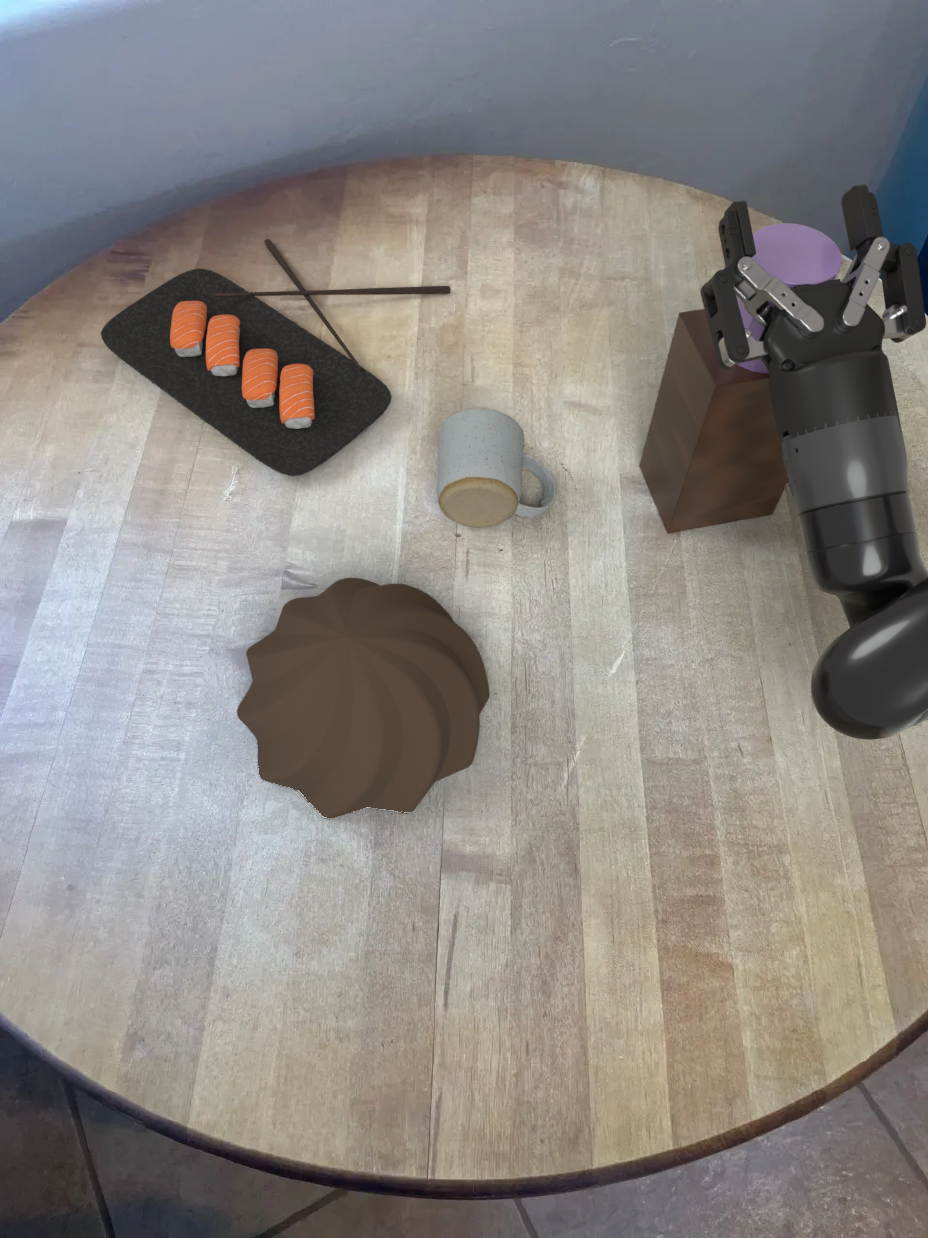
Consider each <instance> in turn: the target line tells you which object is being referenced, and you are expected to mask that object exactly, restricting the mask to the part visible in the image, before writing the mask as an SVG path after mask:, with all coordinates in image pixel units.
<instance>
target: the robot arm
mask: <svg viewBox="0 0 928 1238" xmlns="http://www.w3.org/2000/svg"><path fill="white" fill-rule="evenodd" d="M841 208H842V214H843V219H844V224H845V229H846V234H847V235H846V236H847V241H848V245H849V251H850V252H854V251H856V253H855V255H854V256H853V259H852V261H851V263H850V265H849V268H848V269H847V271H846V273H845V276H844V277H843V279H842V280H841V278H837V279H835V280H829V281H827V282H825V283H823V284H821V285H813V284H803V285H796V286H795V287H794V288H792V289H790V288H789V287H787V286H786V285H785V284H784V283H783V282H782V281H781V280H780V279H779V278H777V277H771V276H770V275H769V274H768V273H767V272H766V271H765V270H764V269H763V268H762V267H761V266H759V265H758V264H757V263H756V262H755V261H754V260H753V259H752V257H753V256H754V255H755V254H756V249H755V244H754V239H753V234H754V233H753V229H752V225H751V218H750V213H749V208H748V203H747V200H737V201H732V202H731V204H730V205H729V206H728V207H727V208H726V209H725V210H724V212H723V213H724V214H723V217H722V218H721V219H720V220H719V221H718V222H719V223H718V227H717V230H718V235H719V240H720V246H721V250H722V257H723V261H724V268H723V269H718V270H717V271H716V272H715V273H714V274H713V275H712V276H711V277H710V278H709V280H708V281H706V282H705V283H704V284H703V285H702V286H701V288H700V297H701V300H702V305H703V309H705V313H706V317H707V321H708V325H709V329H710V333H711V337H712V341H713V345H714V349H715V353H716V357H717V361H718V364H719V366H720V367H721V368H722V369H724V370H729V369H731V368H733V367H735V366H736V365H738V364H739V363H743V362H747V361H752V360H756V359H761V360H762V361H763V363H764V364H765V366H766V367H767V370H768V372H769V388H770V394H771V399H772V404H773V410H774V415H775V420H776V425H777V430H778V435H779V441H780V446H781V459H782V463H783V465H784V467H785V472H786V477H787V481H788V483H787V485H788V487H789V491H790V494H791V497H792V500H793V502H794V506H795V510H796V513H797V514H798V515H797V518H798V524H799V530H800V534H801V539H802V544H803V551H804V555H805V559H806V565H807V569H808V572H809V576H810V579H811V581H812V583H813V584H814V586H815V587H816V588H817V589H818V590H819V591H821V592H822V593H824V594H827V595H831V596H835V597H836V598H837V599H838V601H839V603H840V605H841V608H842V610H843V614H844V615H845V618H846V622H847V624H848V626H849V628H848V629H846V630H844V632H842V633H841V634H840V635H839V636H837V637H836V638H834V640H832V641H831V642H830V643H829V644H828V646H826V647H825V648H824V650H823V651H822V653H821V654H820V655H819V656H818V659H817V661H816V662H815V665H814V667H813V669H812V673H811V680H810V694H811V698H812V703H813V705H814V708H815V711H816V712H817V714H818V715H819V716H820V718H821V719H822V720H823V721H824V722H825V723H826V724H827V725H828V726H829V727H830V728H832V729H833V730H835V731H836V732H837V733H840V734H842V735H844V736H847V737H849V738H853V739H858V740H869V741H871V740H872V741H873V740H881V739H886V738H890V737H893V736H896V735H899V734H900V733H903V732H904V731H907V730H908V729H910V728H913V727H915V726H917V725H920V724H922V723H923V722H926V721H928V569H927V568H926V565H925V562H924V561H923V558H922V556H921V551H920V543H919V536H918V532H917V530H918V529H917V525H916V520H915V519H916V518H915V514H914V509H913V504H912V499H911V498H912V497H911V494H910V492H909V491H910V487H909V480H908V457H907V450H906V445H905V439H904V433H903V430H902V423H901V418H900V413H899V408H898V402H897V397H896V392H895V387H894V386H895V385H894V381H893V377H892V371H891V367H890V366H891V365H890V361H889V357H888V355H887V354H886V353H884V350H883V341H884V340H888V339H890V340H891V341H892V342H893V343H896V344H899V343H902V342H904V341H906V340H908V339H909V338H912V337H913V336H915V335H917V334H919V333H920V332H922V331H924V330H925V329H926V325H927V318H926V310H925V304H924V296H923V288H922V282H921V281H922V280H921V274H920V265H919V258H918V249H917V248H916V246H915V245H914V244H912V243H911V242H905V243H903V244H898V243H894V242H893V243H892V242H891V241H889V240H888V238H886V237H885V236H884V232H883V227H882V222H881V221H882V220H881V216H880V209H879V206H878V200H877V198H876V196H875V194H874V192H873V191H870V190H869V186H868V185H867V184H866V183H862V184H855V185H853V186H852V187H850V188H849V190H848V191H846V192H845V193H844V194H843V195H842V198H841ZM880 277H881V284H882V285H881V287H882V292H883V300H884V309H885V310H884V311H883V312H882V315H881V316H880V315H879V314H878V313H877V312H876V311H875V310H874V309H873V308H872V307H871V306H870V304H868V302H869V300H870V298H871V296H872V294H873V291H874V289H875V287H876V285H877V283H878V281H879V279H880ZM736 295H737V296H738V297H739V298H740V299H741V300H742V301H743V302H744V306H745V309H746V310H747V311H748V312H749V313H750V314H751V315H752V316H753V317H754V318H755V319H756V320H757V321H758V322H759V323H760V324H761V325H762V326H763V327H764V330H763V332H762V335H761V337H760V339H759V341H758V340H756V339H755V338H754V337H753V335H752V332H751V330H749V329H747V328H744V325H743V321H742V317H741V313H740V309H739V305H738V301H737V297H736ZM768 301H770V302H772V303H773V304H775V306H774V308H773V307H772V306H771V305H770V304H769V302H768Z"/></svg>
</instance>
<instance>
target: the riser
mask: <svg viewBox="0 0 928 1238" xmlns="http://www.w3.org/2000/svg"><path fill="white" fill-rule="evenodd" d="M668 350H669V351H668V354H667V357H666V361H665V365H664V369H663V374H662V376H661V380H660V385H659V387H658V388H659V389H658V392H657V396H656V400H655V404H654V408H653V412H652V415H651V420H650V423H649V427H648V431H647V435H646V438H645V442H644V446H643V450H642V454H641V458H640V462H639V465H638V466H639V470H640V471H641V473H642V476H643V478H644V481H645V483H646V486H647V488H648V490H649V493H650V495H651V499H652V500H653V503H654V505H655V507H656V510H657V512H658V514H659V517H660V519H661V521H662V525H663V526H664V529H665V531H666V533H667V534H674V533H680V532H684V531H685V532H686V531H690V530H697V529H701V528H707V527H712V526H717V525H723V524H729V523H734V522H735V523H736V522H739V521H746V520H750V519H757V518H763V517H767V516H772V515H773V514H774V512H775V511H776V508H777V506H778V505H779V502H780V499H781V498H782V496H783V493H784V491H785V488H786V487H787V485H788V481H787V477H786V472H785V467H784V465H783V463H782V459H781V446H780V441H779V435H778V430H777V425H776V420H775V415H774V410H773V404H772V399H771V394H770V388H769V374H767V373H759V372H753V371H750V370H748V369H745V368H743V367H740V366H738V365H736V366H735V367H733V368H731V369H729V370H724V369H722V368H721V367H720V366H719V364H718V361H717V357H716V353H715V349H714V345H713V341H712V337H711V333H710V329H709V325H708V321H707V317H706V313H705V309H704V308H700V309H693V310H687V311H681V312H679V313H678V316H677V319H676V324H675V327H674V330H673V335H672V338H671V342H670V346H669V349H668Z"/></svg>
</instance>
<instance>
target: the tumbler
mask: <svg viewBox="0 0 928 1238" xmlns="http://www.w3.org/2000/svg"><path fill="white" fill-rule="evenodd" d="M753 239H754V244H755V249H756V254H755V255H754V256H753V257H752V259H753V260H754V261H755V262H756V263H757V264H758V265H759V266H761V267H762V268H763V269H764V270H765V271H766V272H767V273H768V274H769V275H770V276H771V277H777V278H779V279H780V280H781V281H782V282H783V283H784V284H785V285H786V286H787V287H789V288H790V289H792V288H794V287H795V286H796V285H803V284H813V285H821V284H823V283H825V282H827V281H829V280H835V279H838V277H839V274H840V271H841V268H842V264H843V257H842V253H841V250H840V247H839V246H838V245H837V244H836V242H835V241H834V240H833V239H831V237H829V236H828V235H826V234H825V233H824V232H822V231H820V230H818V229H815V228H813V227H810V226H807V225H804V224H798V223H791V222H779V223H773V224H768V225H766V226H763V227H761V228H759V229H757V230H755V232H754V233H753ZM736 297H737V301H738V305H739V309H740V313H741V317H742V321H743V325H744V328H747V329H749V330H751V332H752V335H753V337H754V338H755V339H756V340H758V341H759V339H760V337H761V335H762V332H763V330H764V327H763V326H762V325H761V324H760V323H759V322H758V321H757V320H756V319H755V318H754V317H753V316H752V315H751V314H750V313H749V312H748V311H747V310H746V309H745V306H744V302H743V301H742V300H741V299H740V298H739V297H738V296H737V295H736ZM768 302H769V304H770V305H771V306H772V307H773V308H774V306H775V304H773V303H772V302H770V301H768ZM738 366H740V367H743V368H745V369H748V370H750V371H753V372H759V373H767V374H769V372H768V370H767V367H766V366H765V364H764V363H763V361H762V360H761V359H756V360H752V361H747V362H743V363H739V364H738Z"/></svg>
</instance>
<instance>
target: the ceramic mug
mask: <svg viewBox="0 0 928 1238" xmlns="http://www.w3.org/2000/svg"><path fill="white" fill-rule="evenodd" d="M437 441H438V442H437V476H436V496H437V502H438V506H439V508H440V510H441V511H442V513H443V515H444V516H446V517H447V518H448V519H450V520H451V521H452V522H455V523H457V524H460V525H462V526H465V527H470V528H489V527H493V526H497V525H500V524H502V523H504V522H506V521H508V520H509V519H511V517H512V516H513V515H515V516H518V517H521V518H529V519H531V518H533V519H534V518H539V517H541V516H543V514H545V513H546V512H547V511H548V509H550V507H551V506H552V505H553V504H554V501H555V500H556V495H557V483H556V481H555V479H554V476H553V474H552V473H551V472H550V470H549V469H548V468H547V467H546V466H545V464H544V463H542V462H541V461H539V460H538V459H537V458H535V457H533V456H532V455H530V454H529V453H525V433H524V430H523V428H522V427H521V425H520V423H519V422H518V421H517V420H516V419H514V418H513V417H511V416H510V415H509V414H507V413H505V412H502V411H500V410H497V409H494V408H485V407H471V408H466V409H462V410H459V411H456V412H455V413H453V414H451V415H449V416H448V417H447V418H446V419H445V420H444V421H443V422H442V423H441V425H440V428H439V429H438V440H437ZM523 468H524V469H526V470H527V471H529V472H530V473H531V474H533V475H534V476H535V477H536V478H537V479H538V480H539V482H540V483H541V485H542V488H543V493H542V494H543V495H542V500H541V501H540V506H531V505H526V504H524V503H523V504H522V503H521V502H520V499H521V496H522V495H521V494H522V479H523V478H522V477H523V476H522V475H523Z"/></svg>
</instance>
